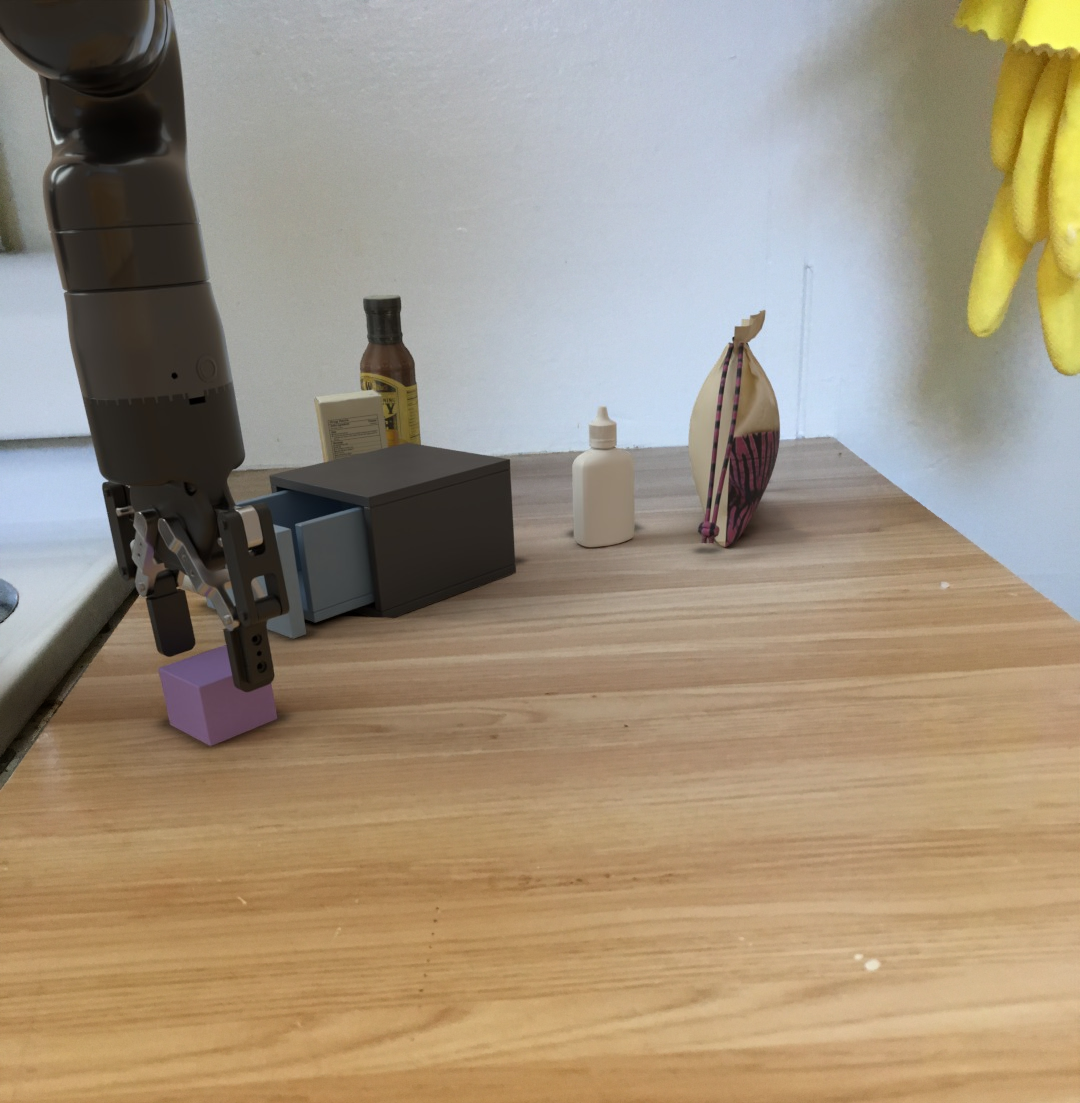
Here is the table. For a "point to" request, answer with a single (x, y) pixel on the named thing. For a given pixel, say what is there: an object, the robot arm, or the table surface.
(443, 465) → the drawer cabinet
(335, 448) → the cosmetic box
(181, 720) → the block
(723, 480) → the pouch
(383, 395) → the sauce bottle
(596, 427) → the eye dropper bottle
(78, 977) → the table surface
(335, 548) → the blue drawer
